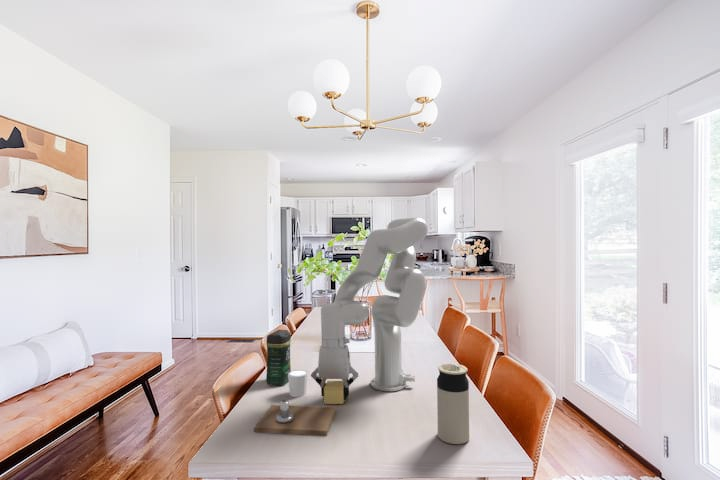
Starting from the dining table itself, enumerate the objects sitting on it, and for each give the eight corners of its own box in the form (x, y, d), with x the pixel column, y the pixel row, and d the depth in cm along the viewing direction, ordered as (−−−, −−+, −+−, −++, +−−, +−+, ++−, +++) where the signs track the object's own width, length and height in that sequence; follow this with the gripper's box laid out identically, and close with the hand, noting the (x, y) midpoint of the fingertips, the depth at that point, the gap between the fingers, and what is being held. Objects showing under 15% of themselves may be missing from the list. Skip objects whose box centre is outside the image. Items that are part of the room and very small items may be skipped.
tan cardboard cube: (345, 395, 123) (345, 380, 123) (343, 404, 117) (342, 388, 117) (328, 395, 124) (327, 380, 124) (324, 403, 118) (323, 387, 118)
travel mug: (442, 446, 93) (441, 373, 93) (434, 430, 101) (433, 363, 101) (473, 444, 94) (473, 372, 94) (463, 428, 101) (462, 362, 102)
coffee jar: (284, 387, 132) (284, 334, 132) (263, 386, 133) (263, 334, 133) (293, 377, 142) (293, 328, 142) (274, 376, 143) (273, 327, 143)
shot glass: (291, 399, 122) (291, 377, 122) (285, 392, 128) (285, 371, 128) (311, 395, 125) (311, 374, 125) (304, 388, 131) (304, 368, 131)
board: (336, 411, 113) (335, 407, 113) (326, 435, 99) (326, 430, 99) (271, 408, 115) (271, 404, 115) (253, 431, 101) (253, 427, 101)
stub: (295, 416, 107) (295, 398, 107) (290, 424, 103) (290, 405, 103) (279, 415, 108) (279, 398, 108) (273, 423, 103) (273, 405, 103)
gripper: (361, 339, 123) (363, 393, 123) (310, 339, 125) (311, 393, 125) (358, 345, 116) (360, 404, 116) (304, 345, 117) (306, 403, 118)
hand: (335, 397), depth 120 cm, fingers closed on tan cardboard cube, 6 cm apart
